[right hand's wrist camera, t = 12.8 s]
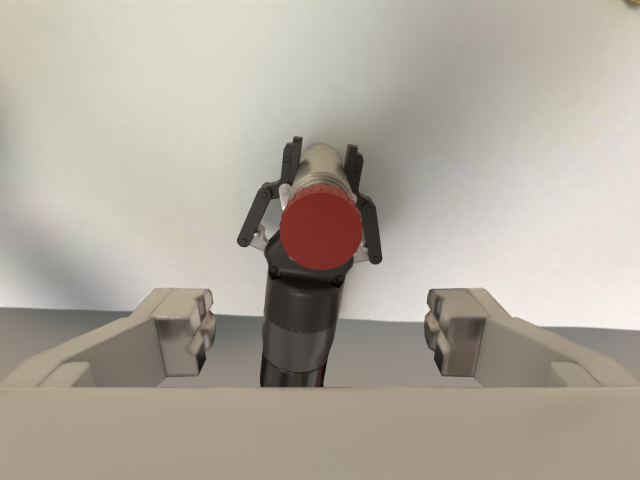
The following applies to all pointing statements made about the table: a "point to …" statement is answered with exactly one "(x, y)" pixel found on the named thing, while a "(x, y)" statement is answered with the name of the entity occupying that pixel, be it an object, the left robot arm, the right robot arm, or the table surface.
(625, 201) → the table surface
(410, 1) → the table surface
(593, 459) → the right robot arm
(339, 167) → the bottle
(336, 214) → the cap
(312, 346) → the left robot arm
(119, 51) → the table surface
